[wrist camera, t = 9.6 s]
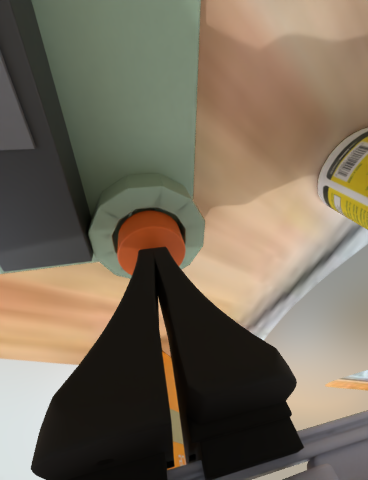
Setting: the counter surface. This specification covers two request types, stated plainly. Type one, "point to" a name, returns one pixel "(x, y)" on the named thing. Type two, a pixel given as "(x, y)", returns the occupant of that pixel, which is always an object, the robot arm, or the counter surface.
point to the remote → (35, 155)
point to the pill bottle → (347, 178)
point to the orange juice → (174, 413)
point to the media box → (128, 110)
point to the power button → (148, 237)
